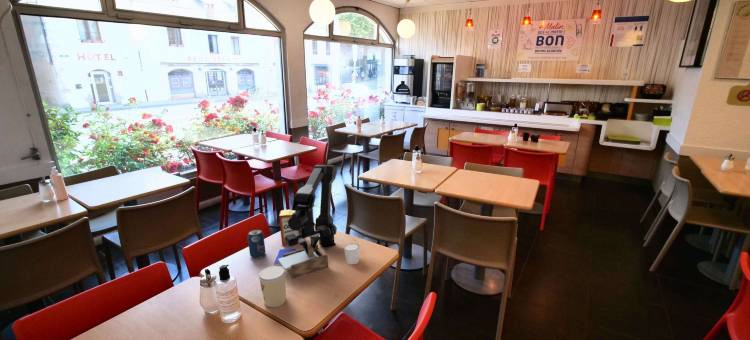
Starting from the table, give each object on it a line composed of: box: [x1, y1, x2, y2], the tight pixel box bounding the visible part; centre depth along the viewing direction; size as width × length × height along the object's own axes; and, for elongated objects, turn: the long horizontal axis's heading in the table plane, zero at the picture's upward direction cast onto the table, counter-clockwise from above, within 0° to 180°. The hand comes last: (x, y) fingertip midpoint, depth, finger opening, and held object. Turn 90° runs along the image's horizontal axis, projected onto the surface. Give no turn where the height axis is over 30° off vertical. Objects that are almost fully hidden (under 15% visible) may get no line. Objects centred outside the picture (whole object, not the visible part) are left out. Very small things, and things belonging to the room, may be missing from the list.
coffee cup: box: [258, 265, 287, 308], centre depth 127 cm, size 9×9×12 cm
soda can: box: [247, 228, 266, 259], centre depth 159 cm, size 7×7×12 cm
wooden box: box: [283, 243, 329, 280], centre depth 149 cm, size 16×11×6 cm
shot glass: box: [343, 242, 361, 265], centre depth 153 cm, size 7×7×7 cm
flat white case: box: [278, 242, 319, 271], centre depth 146 cm, size 15×9×5 cm, turn 122°
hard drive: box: [273, 248, 298, 266], centre depth 158 cm, size 2×8×12 cm
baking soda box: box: [278, 209, 301, 246], centre depth 170 cm, size 10×6×16 cm
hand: (309, 253), depth 149 cm, fingers closed on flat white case
